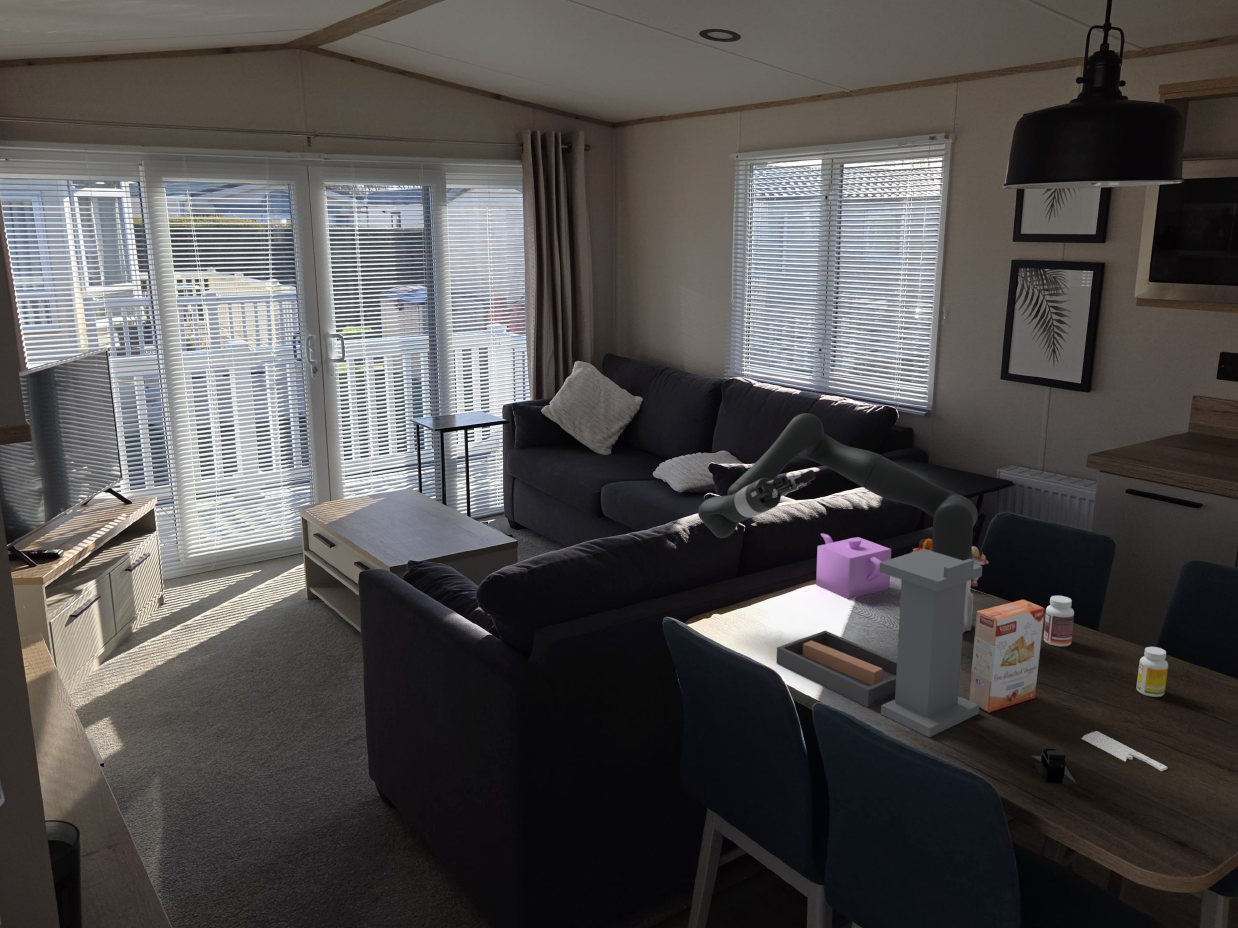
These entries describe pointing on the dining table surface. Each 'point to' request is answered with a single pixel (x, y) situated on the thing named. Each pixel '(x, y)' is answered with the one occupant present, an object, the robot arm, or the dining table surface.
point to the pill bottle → (1059, 621)
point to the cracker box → (1006, 655)
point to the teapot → (851, 567)
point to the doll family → (980, 558)
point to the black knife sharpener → (1053, 765)
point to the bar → (842, 662)
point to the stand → (930, 641)
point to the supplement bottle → (1152, 672)
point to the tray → (835, 679)
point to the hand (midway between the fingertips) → (800, 476)
